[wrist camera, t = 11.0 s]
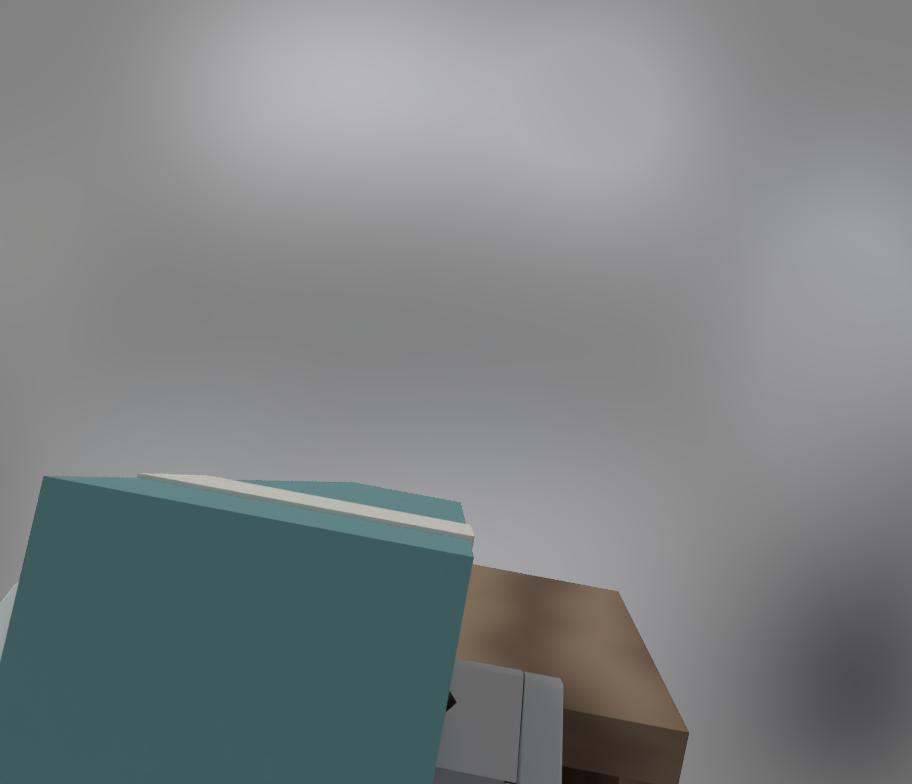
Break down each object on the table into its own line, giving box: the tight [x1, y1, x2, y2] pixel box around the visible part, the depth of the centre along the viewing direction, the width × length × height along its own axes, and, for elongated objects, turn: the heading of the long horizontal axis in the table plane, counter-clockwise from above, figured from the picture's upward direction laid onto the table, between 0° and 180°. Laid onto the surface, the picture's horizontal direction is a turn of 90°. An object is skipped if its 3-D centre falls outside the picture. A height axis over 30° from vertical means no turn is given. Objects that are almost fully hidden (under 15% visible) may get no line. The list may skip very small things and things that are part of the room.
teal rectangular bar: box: [0, 473, 474, 784], centre depth 20 cm, size 4×24×6 cm, turn 178°
